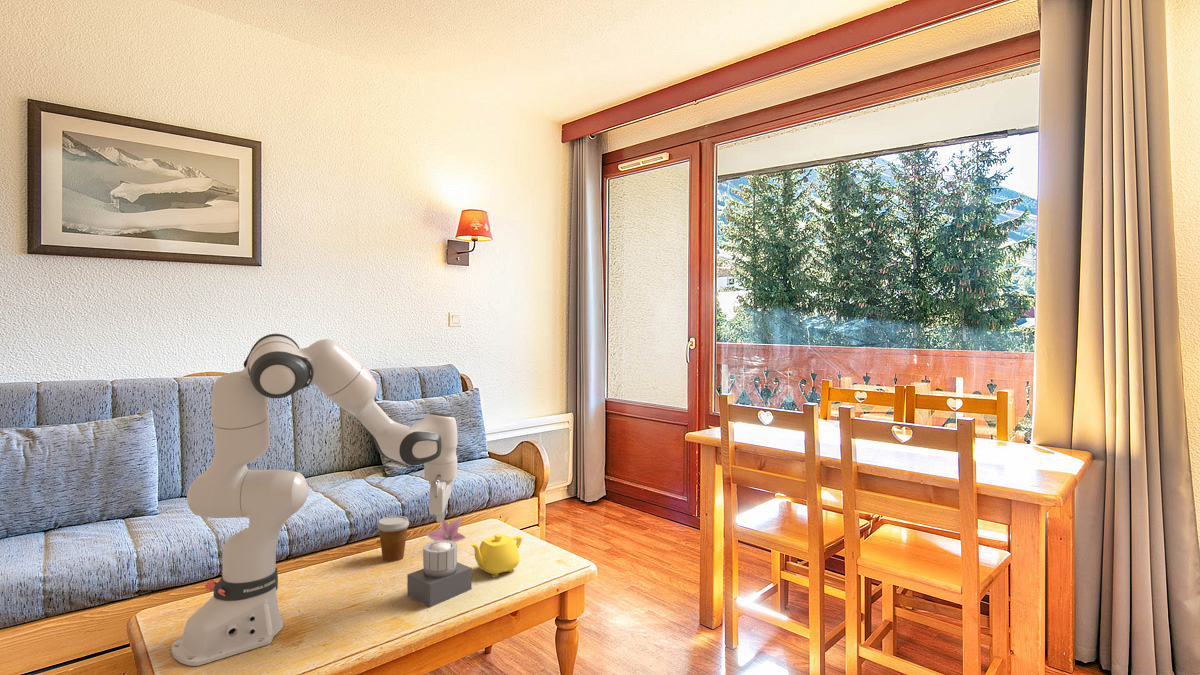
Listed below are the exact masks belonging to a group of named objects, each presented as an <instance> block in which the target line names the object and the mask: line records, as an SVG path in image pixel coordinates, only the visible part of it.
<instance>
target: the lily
mask: <svg viewBox="0 0 1200 675" xmlns="http://www.w3.org/2000/svg"><path fill="white" fill-rule="evenodd" d="M461 522H462V518H461V517H459V518H457V519H454V520H453V521H452V522H450V523H448V522H447V521H446V520H445V519H444V520H443V522H440V529H435V530H432V531H429V532H428V533H427V534H426V536H427V537H428V538H429V539H431V540H433V541H440V540H447V541H452V542H455V543H456V542H460V541H462V540H465V539H466V536H465V535H464V534H462V533H460V532H458V530H459V527H460V526H461Z"/></svg>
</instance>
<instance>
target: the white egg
mask: <svg viewBox="0 0 1200 675" xmlns="http://www.w3.org/2000/svg"><path fill="white" fill-rule="evenodd" d="M449 548H451V544H450V543H446V542H440V543H435V544H433V545H432V546H431V550H435V551H441V550H446V549H449Z"/></svg>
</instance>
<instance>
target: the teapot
mask: <svg viewBox="0 0 1200 675" xmlns="http://www.w3.org/2000/svg"><path fill="white" fill-rule="evenodd" d="M522 540H523V538H522V536H521V535H515V536H513V537H510V536H508V535H506V534H501V533H498V534H497V533H496V534H494V535H493V536H489V537H486V538H484V539H483V540H482V541H481V543H480V545H478V544H476V543H470V544H469V545H470V546H472V548H473V550H474V559H475V561H476V564H477V565H478V567H479V568H480V569H481V570H482V571H483V570H484V571H483V572H486V573H488V574H491V576H492V577H493V576H496V577H498V575H500V574H501V573H506V572H507V573H512V572H514V569H515V568H517V567H518V565H519V563H520V553H519V548H520V546H521V544H522ZM511 571H512V572H511Z"/></svg>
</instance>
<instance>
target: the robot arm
mask: <svg viewBox="0 0 1200 675" xmlns="http://www.w3.org/2000/svg"><path fill="white" fill-rule="evenodd" d="M243 367H244V368H243V369H242V370H239V371H232V372H229V373H226V374H223V375H222V376H220V377H218V378H217V379H216V381H215V382H214V384H213V388H212V392H211V393H212V394H211V396H212V397H211V417H212V419H211V420H212V421H211V422H212V427H213V439H214V441H213V442H214V452H213V453H214V455H213V458H212V460H211V463H210V465H209V467H207V469H205V470H204V472H202V473H201V474H199V475H198V476H197V477H196V478H195V479H193V481H192V482H191V484H189V488H188V490H187V492H186V493H187V494H186V503H187V506H188V508H189V510H190V511H191V513H192V514H193V515H194V516H197V517H198V516H199V517H202V518H203V517H204V518H209V519H233V518H234V519H236V518H245V519H246V518H247V519H249V520H248V521H249V522H248V527H247V528H244V529H242V530H240V531H238V532H236V533H235V534H233V535H231V536H230V537H229V538H228V539H227V540H226V541H225V543H224V544H223V548H222V552H221V553H222V559H221V561H222V575H221V577H220V579H219V580H218V581H214V579H209V580H208V581H207V580H206V583H205V585H204V586H205V588H206V589H207V590H208V591H210V592H211V591H213V596H212V597H210V598H209V599H208V600H207V601H206V602H205V603H204V604H203V605H202V606H201V607H199V608H198V609H197V610H196V611H195V612H194V613H193V614H192V615H191V616H190V617H188V619H187V620H186V622H185V626H184V628H183V629H184V630H183V634H182V637H181V638H178V639H177V640H175V641H173V642H172V644H171V649H170V650H171V651H170V652H171V656H172V657H173V658H174V660H176V661H177V662H179V663H181V664H183V665H186V666H193V667H198V666H202V665H204V664H205V665H206V664H208V663H212V662H214V661H215V662H216V661H218V660H222V659H224V658H225V659H226V658H228V657H231V656H234V655H237V654H241V653H244V652H247V651H251V650H254V649H257V648H260V647H263V646H267V645H270V644H271V643H272V642H273V639H274V637H275V636H276V635H277V634H278V633H279V632H280V631H281V630H282V629H283V626H284V621H283V619H282V617H281V612H280V607H279V602H278V594H277V590H278V589H279V588H278V587H279V586H278V585H279V575H278V568H277V566H276V563H277V562H276V558H277V556H276V555H277V544H278V537H279V535H280V532H281V529H282V528H283V526H284V525H285V523H287V521H288V520H289V519H290V518H291V517H292V516H293V515H294V514H296V513H297V512H298V511H299V510H301V508H303V506H304V505H305V503H306V501H307V498H308V496H309V485H308V481H307V479H306V477H305V476H304V475H303V474H302V473H301V472H300V471H299V472H298V471H293V470H287V469H281V468H279V469H249V468H248V464H251V463H252V462H255V461H256V460H258V459H259V458H261V457H263V456H264V455H265V454H266V453H267V451H268V450H269V449H270V446H271V442H272V441H271V433H270V423H269V411H268V398H269V399H283V398H286V397H288V396H289V397H290V396H291V395H293V394H295V393H296V392H298V391H300V390H303V389H305V388H307V387H309V386H311V384H312V385H314V386H316V387H317V388H318V389H319V390H320V391H321V392H322V393H323V394H324V395H325V396H326V397H327V398H328V399H329V400H331V401H332V402H333V403H334V404H336V406H338V407H339V408H341V409H342V410H343V411H344V410H345V411H346V412H347V413H349V414H350V415H352V416H353V417H354V418H355V419H356V420H357V421H358V422H359V423H360V425H362V427H363V428H365V430H366V431H368V433H369V434H370V436H371V437H372V439H373V441H374V445H375V448H376V450H377V451H378V453H379V454H380V455H381V456H382V457H383V458H385V459H387V460H388V459H389V460H392V461H396V462H399V463H402V464H403V465H407V466H419V465H422V464H423V465H424V466H423V467H424V469H423V471H424V472H423V473H424V474H423V476H424V480H426V481H428V484H429V485H430V486H429V492H428V493H429V497H428V498H429V499H428V513H429V515H430V516H436V523H441V522H443V520H445V518H446V517H445V515H446V514H445V513H446V507H447V505H448V502H449V499H450V496H451V493H452V489H453V484H454V482H453V481H454V480H455V479H456V478H457V477H458V455H457V447H458V445H459V444H458V442H459V441H458V436H459V435H458V426H457V421H456V418H455V417H454V415H451V414H449V413H443V412H433V411H432V412H429V413H427V414H426V416H425V417H424V418H423V419H422V420H421V421H419V422H417V423H416V424H414V425H411V426H409V425H406V424H404V423H401V422H398V421H395V420H393V419H391V418H390V417H389V416H388V415H387V413H386V412H385V411H384V410H383V409H382V408H381V407H380V406H379V404H378V403H377V401H375V400H374V399H375V397H376V394H377V390H378V384H377V381H376V379H375V378H374V376H373V375H372V373H371V372H370V370H368V368H367V367H366V366H365V365H364V364H363V363H362V362H361V361H360V360H359V359H358V358H357V357H356V356H354V355H353V353H351V352H350V351H349V350H348V349H346V348H345V347H343V346H342V345H341V344H339V343H338V342H336V341H335V340H334V339H328V338H324V339H320V340H317V341H315V342H313V343H312V344H310V345H309V346H307V347H304V348H300V346H299V345H298V343H297V342H296V341H295V340H294V339H293V338H291V337H289V336H288V335H286V334H282V333H270V334H267V335H264V336H262V337H260V338H259V339H258V340H257V341H256V342H255V343H254V345H253V346H252V347H251V349H250V351H249V353H248V354H247V356H246V358H245V360H244V362H243Z"/></svg>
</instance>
